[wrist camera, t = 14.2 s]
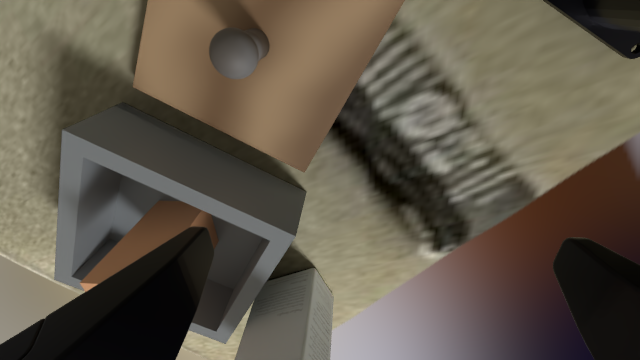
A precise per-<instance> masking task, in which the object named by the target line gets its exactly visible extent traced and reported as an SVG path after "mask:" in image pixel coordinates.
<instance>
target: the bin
mask: <svg viewBox="0 0 640 360" xmlns="http://www.w3.org/2000/svg"><path fill="white" fill-rule="evenodd" d="M305 196H306V191H304V190H302V189H299V188H297V187H295V186H293V185H291V184H289V183H287V182H285V181H283V180H281V179H279V178H277V177H275V176H273V175H271V174H269V173H267V172H265V171H263V170H261V169H258V168H256V167H254V166H252V165H250V164H248V163H246V162H244V161H242V160H240V159H238V158H236V157H234V156H232V155H230V154H228V153H226V152H224V151H222V150H220V149H217V148H215V147H213V146H211V145H209V144H207V143H205V142H203V141H201V140H199V139H197V138H195V137H193V136H191V135H189V134H187V133H185V132H183V131H181V130H178V129H176V128H174V127H172V126H170V125H168V124H166V123H164V122H162V121H160V120H158V119H156V118H154V117H152V116H150V115H148V114H146V113H144V112H142V111H140V110H137V109H135V108H133V107H131V106H129V105H127V104H125V103H123V102H122V103H120V104H118V105H115V106H113V107H111V108H109V109H107V110H104V111H102V112H100V113H98V114H96V115H93V116H91V117H89V118H87V119H84V120H82V121H80V122H78V123H76V124H73V125H71V126H69V127H67V128H65V129H62V142H61V161H60V181H59V200H58V219H57V238H56V257H55V277H54V280H57V281H59V282H62V283H65V284H67V285H70V286H73V287H75V288H78V289H81V290H83V291H85V290H84V289H83V287H82V286H81V284H80V282H81V281H82V280H83V279H84V278H85V277H86V276H87V275H88V274H89V273H90V272H91V271H92V269H93V268H94V267H95V266H96V265H97V264H98V263H99V262H100V261H101V260H102V259H103V258H104V257H105V256H106V255H107V254H108V253H109V252H110V251H111V250H112V249H113V248H114V247H115V246H116V245H117V243H118V242H119V241H120V240H121V239H122V238H123V237H124V236H125V235H126V234H127V233H128V232H129V231H130V230H131V229H132V228H133V227H134V226H135V225H136V224H137V223H138V222H139V221H140V220H141V218H142V217H143V216H144V215H145V214H146V213H147V212H148V211H149V210H150V209H151V208H152V207H153V206H154V205H155V204H156V203H157V202H158V201H182V202H185V203H187V204H189V205H191V206H194V207H196V208H198V209H200V210H203V211H205V212H207V213H209V214H211V215H212V219H213V223H214V226H215V230H216V233H217V237H218V240H219V242H218V243H217V245H216V247H215V249H214V258H213V261H212V264H211V268H210V271H209V274H208V277H207V280H206V283H205V287H204V290H203V293H202V296H201V299H200V302H199V305H198V308H197V311H196V313H195V316H194V318H193V321H192V323H191V325H190V327H189V330H190V331H193V332H195V333H198V334H201V335H203V336H206V337H209V338H211V339H214V340H217V341H219V342H222V343H225V344H226V342H227V341H228V339H229V338H230V336H231V335H232V333H233V332H234V330H235V329H236V327H237V325H238V324H239V322H240V321H241V319H242V318H243V316H244V315H245V313H246V312H247V310H248V309H249V307H250V306H251V304H252V302H253V301H254V299H255V298H256V296H257V295H258V293H259V292H260V290H261V289H262V287H263V286H264V284H265V283H266V281H267V280H268V278H269V276H270V275H271V273H272V272H273V270H274V269H275V267H276V266H277V264H278V263H279V261H280V260H281V258H282V257H283V255H284V253H285V252H286V250H287V249H288V247H289V246H290V244H291V243H292V241H293V240H294V238H295V237H296V233H297V229H298V225H299V221H300V217H301V212H302V208H303V204H304V200H305Z"/></svg>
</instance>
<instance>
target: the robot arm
mask: <svg viewBox="0 0 640 360" xmlns="http://www.w3.org/2000/svg"><path fill="white" fill-rule="evenodd" d="M543 1H544V2H546V3H547V4H549V5H550V6H551V7H553V8H554V9H556V10H557V11H559V12H560V13H561V14H563V15H564V16H566V17H567V18H568V19H570V20H571V21H573V22H574V23H575V24H577V25H578V26H580V27H581V28H583V29H584V30H585V31H587V32H588V33H590V34H591V35H592V36H594V37H595V38H597V39H598V40H599V41H601V42H602V43H604V44H605V45H606V46H608V47H609V48H611V49H612V50H614V51H615V52H616V53H618V54H619V55H621V56H622V57H625V58H629V59H635V58H638V57H640V0H543ZM636 44H637V47H636V49H635V50H634V51H632V52H631V49H632V47H633V46H634V45H636ZM213 258H214V248H213V244H212V241H211V237H210V234H209V231H208V229H207V228H206V227H200V226H192V227H189V228H187V229H186V230H184V231H183V232H181V233H179V234H178V235H176V236H175V237H173V238H171V239H170V240H168V241H167V242H165V243H163V244H162V245H160V246H159V247H157V248H155V249H154V250H152V251H151V252H149V253H147V254H146V255H144V256H143V257H141V258H139V259H138V260H136V261H134V262H133V263H131V264H130V265H128V266H126V267H125V268H123V269H122V270H120V271H118V272H117V273H115V274H114V275H112V276H110V277H109V278H107V279H106V280H104V281H102V282H101V283H99V284H97V285H96V286H94V287H93V288H91V289H89V290H88V291H86V292H85V293H83V294H81V295H80V296H78V297H77V298H75V299H74V300H72V301H70V302H69V303H67V304H65V305H64V306H62V307H61V308H59V309H57V310H56V311H54V312H52V313H51V314H49V315H48V316H47V317H46V318H45V319H41V320H40V321H38V322H36V323H35V324H33V325H32V326H30V327H28V328H27V329H25V330H24V331H22V332H20V333H19V334H17V335H15V336H14V337H12V338H10V339H9V340H7V341H5V342H4V343H2V344H0V360H175V359H176V357H177V355H178V353H179V350H180V348H181V346H182V344H183V341H184V339H185V337H186V334H187V332H188V330H189V327H190V325H191V323H192V321H193V318H194V316H195V313H196V311H197V308H198V305H199V302H200V299H201V296H202V293H203V290H204V287H205V283H206V280H207V277H208V274H209V271H210V268H211V264H212V261H213ZM553 270H554V273H555V276H556V278H557V280H558V283H559V285H560V287H561V290H562V292H563V294H564V297H565V299H566V301H567V304H568V306H569V309H570V311H571V313H572V316H573V318H574V320H575V323H576V325H577V327H578V329H579V331H580V333H581V335H582V337H583V339H584V341H585V343H586V345H587V347H588V348H589V350H590V352H591V354H592V356H593V358H594V359H595V360H640V265H639V264H636V263H635V262H633V261H631V260H629V259H627V258H625V257H623V256H621V255H619V254H617V253H615V252H613V251H611V250H610V249H608V248H606V247H604V246H602V245H600V244H598V243H596V242H594V241H592V240H590V239H587V238H567V239H566V240H564V241H563V243H562V245H561V247H560V249H559V252H558V253H557V255H556V257H555V260H554V262H553Z"/></svg>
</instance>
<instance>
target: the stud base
mask: <svg viewBox="0 0 640 360" xmlns="http://www.w3.org/2000/svg"><path fill="white" fill-rule="evenodd" d="M404 1H405V0H148V3H147V8H146V14H145V20H144V25H143V31H142V37H141V42H140V48H139V54H138V59H137V65H136V71H135V76H134V82H133V87H134V88H136V89H138V90H140V91H142V92H144V93H146V94H148V95H150V96H152V97H154V98H156V99H158V100H160V101H162V102H164V103H166V104H168V105H170V106H172V107H174V108H176V109H178V110H180V111H182V112H184V113H186V114H188V115H190V116H192V117H194V118H196V119H198V120H200V121H202V122H204V123H206V124H208V125H210V126H212V127H214V128H216V129H218V130H220V131H222V132H224V133H226V134H228V135H230V136H232V137H234V138H236V139H238V140H240V141H242V142H244V143H246V144H248V145H250V146H252V147H254V148H256V149H258V150H260V151H262V152H264V153H266V154H268V155H270V156H272V157H274V158H276V159H278V160H280V161H282V162H284V163H286V164H288V165H290V166H292V167H294V168H296V169H298V170H300V171H302V172H305V171H306V169H307V167H308V166H309V164H310V162H311V160H312V159H313V157H314V155H315V154H316V152H317V150H318V148H319V147H320V145H321V143H322V142H323V140H324V138H325V136H326V135H327V133H328V131H329V130H330V128H331V126H332V124H333V123H334V121H335V119H336V117H337V116H338V114H339V112H340V111H341V109H342V107H343V105H344V104H345V102H346V100H347V99H348V97H349V95H350V93H351V92H352V90H353V88H354V87H355V85H356V83H357V81H358V80H359V78H360V76H361V75H362V73H363V71H364V69H365V68H366V66H367V64H368V62H369V61H370V59H371V57H372V56H373V54H374V52H375V50H376V49H377V47H378V45H379V44H380V42H381V40H382V38H383V37H384V35H385V33H386V32H387V30H388V28H389V26H390V25H391V23H392V21H393V20H394V18H395V16H396V14H397V13H398V11H399V9H400V7H401V6H402V4H403V2H404Z"/></svg>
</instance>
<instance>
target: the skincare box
mask: <svg viewBox="0 0 640 360" xmlns="http://www.w3.org/2000/svg"><path fill="white" fill-rule="evenodd" d="M333 300H334V297H333V295H332V293H331V291H330V290H329V288H328V286H327V285H326V283H325V282H324V280H323V279H322V277H321V276H320V274H319V273H318V272H317V270H316V269H315V268H311V269H307V270H304V271H301V272H297V273H294V274H291V275H287V276H284V277H280V278H277V279H273V280H270V281H267V282H266V283H265V284H264V286H263V287H262V289H261V290H260V292H259V293H258V295H257V296H256V298H255V300H254V302H253V306H252V308H251V312H250V315H249V318H248V321H247V324H246V327H245V330H244V333H243V336H242V339H241V342H240V345H239V348H238V351H237V354H236V357H235V360H330V349H331V348H330V347H331V334H332V317H333Z"/></svg>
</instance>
